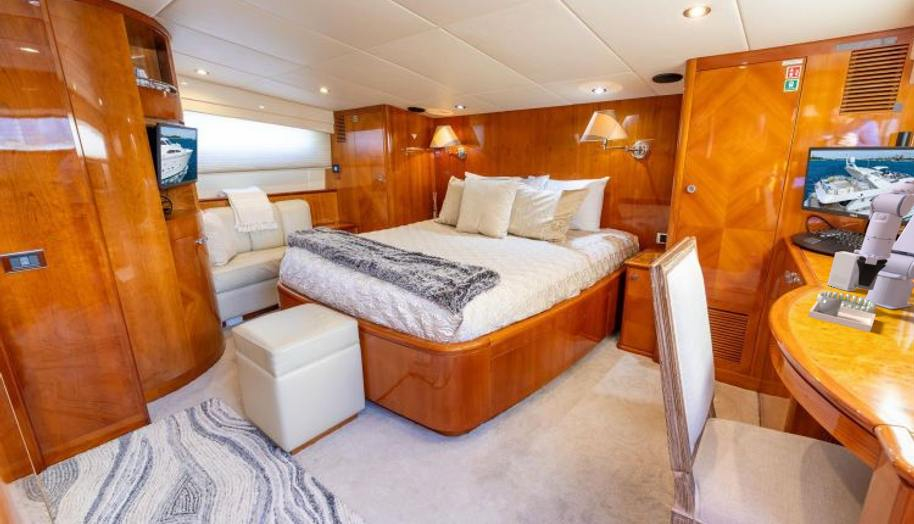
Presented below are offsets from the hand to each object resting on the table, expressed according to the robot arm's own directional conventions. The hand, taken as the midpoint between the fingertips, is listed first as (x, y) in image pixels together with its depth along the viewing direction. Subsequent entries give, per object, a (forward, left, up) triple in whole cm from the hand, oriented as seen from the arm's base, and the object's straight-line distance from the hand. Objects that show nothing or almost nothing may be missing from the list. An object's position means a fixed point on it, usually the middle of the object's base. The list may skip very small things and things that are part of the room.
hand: (864, 283), depth 110 cm
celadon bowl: (+1, -2, -8) cm, 8 cm away
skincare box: (-18, -14, -8) cm, 24 cm away
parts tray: (+13, +4, -8) cm, 16 cm away
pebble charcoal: (0, 0, -1) cm, 1 cm away
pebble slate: (+14, +1, -8) cm, 16 cm away
